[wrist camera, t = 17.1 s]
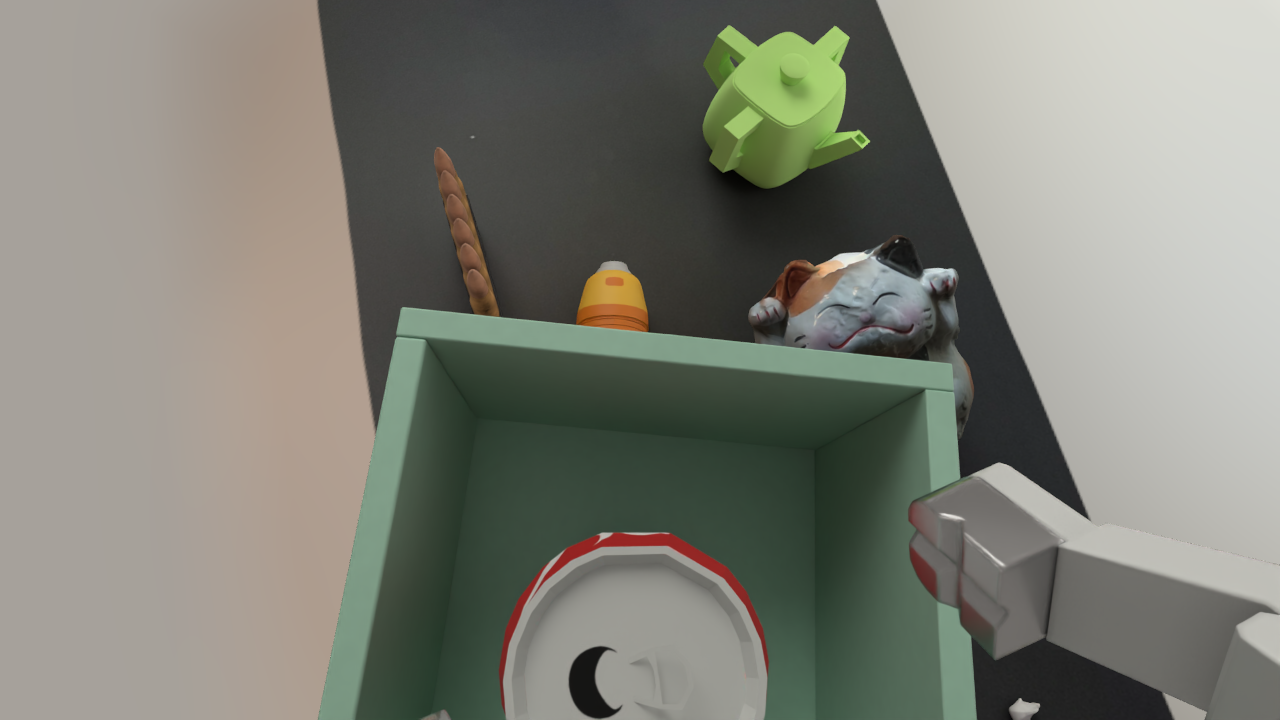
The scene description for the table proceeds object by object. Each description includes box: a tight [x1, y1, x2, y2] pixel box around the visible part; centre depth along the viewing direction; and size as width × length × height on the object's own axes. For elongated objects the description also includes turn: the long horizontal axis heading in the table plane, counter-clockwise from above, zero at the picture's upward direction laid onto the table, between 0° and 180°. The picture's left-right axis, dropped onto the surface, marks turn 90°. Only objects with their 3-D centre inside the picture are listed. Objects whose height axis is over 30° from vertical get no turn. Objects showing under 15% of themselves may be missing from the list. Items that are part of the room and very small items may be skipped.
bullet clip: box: [434, 147, 503, 317], centre depth 47 cm, size 11×2×12 cm, turn 18°
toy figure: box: [576, 261, 649, 332], centre depth 50 cm, size 5×6×12 cm
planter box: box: [318, 307, 977, 720], centre depth 20 cm, size 15×15×10 cm
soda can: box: [499, 533, 769, 720], centre depth 18 cm, size 6×6×12 cm
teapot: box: [703, 25, 870, 189], centre depth 55 cm, size 12×12×10 cm
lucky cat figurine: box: [749, 235, 974, 440], centre depth 48 cm, size 15×12×14 cm
